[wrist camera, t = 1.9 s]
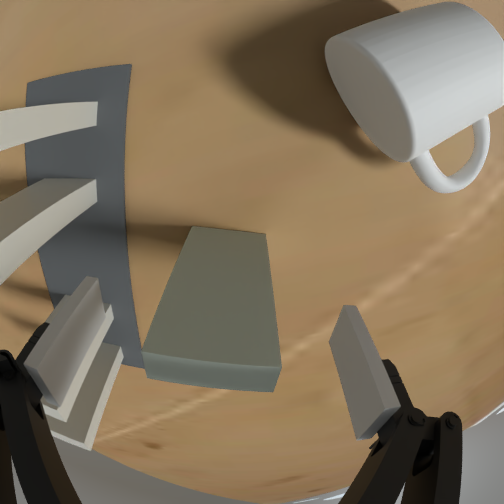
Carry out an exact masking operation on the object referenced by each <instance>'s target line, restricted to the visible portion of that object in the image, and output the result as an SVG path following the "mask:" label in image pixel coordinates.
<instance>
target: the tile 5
mask: <svg viewBox="0 0 504 504" xmlns="http://www.w3.org/2000/svg"><path fill="white" fill-rule="evenodd" d="M122 360H123V353H122V349H121V346H117V345H113V344H108V343H104V342H102V343H101V345H100V347H99V349H98V351H97V353H96V355H95V357H94V359H93V361H92V364H91V366H90V368H89V370H88V372H87V374H86V377H85V379H84V381H83V383H82V386H81V388H80V390H79V393H78V395H77V397H76V400H75V402H74V404H73V407H72V409H71V412H70V414H69V417H68V419H67V422H64V421H61V420H59V419H57V418H54V417H52V416H50V415H47V414H45V415H46V418H47V422H48V425H49V428H50V431H51V434H52V436H54V437H56V438H59V439H61V440H63V441H66V442H69V443H71V444H73V445H76V446H79V447H81V448H84V449H87V450H89V451H91V449H92V445H93V442H94V439H95V436H96V433H97V429H98V426H99V423H100V420H101V417H102V414H103V411H104V409H105V406H106V403H107V400H108V397H109V394H110V392H111V389H112V386H113V383H114V381H115V378H116V375H117V373H118V370H119V368H120V365H121V363H122Z"/></svg>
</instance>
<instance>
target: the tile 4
mask: <svg viewBox="0 0 504 504" xmlns="http://www.w3.org/2000/svg"><path fill="white" fill-rule="evenodd" d="M69 297H70V296H69V295H65V296H64V297H63V298H62V300H61V301H60V302H59V304H58V305H57V306H56V308H55V309H54V310H53V312H52V313H51V314H50V316H49V317H48V319H47V320H46V321H45V322H47V323H51V322H52V320H53V319H54V318H55V316H56V315H57V313H58V312H59V311H60V309H61V308H62V307H63V305H64V304H65V303H66V301H67V300H68V299H69ZM103 306H104V311H105V315H106V318H105V320H104V322H103V324H102V325H101V327H100V329H99V331H98V333H97V334H96V336H95V338H94V340H93V342H92V344H91V345H90V347H89V349H88V351H87V353H86V355H85V357H84V359H83V361H82V363H81V365H80V367H79V369H78V371H77V373H76V375H75V377H74V379H73V381H72V383H71V385H70V387H69V390H68V392H67V394H66V396H65V398H64V400H63V403H62V405H61V407H58V406H55V405H53V404H50V403H48V402H47V401H46V399H45V398H44V396H42V398H41V400H40V401H41V403H42V404H43V408H44V412H45V414H47V415H50V416H52V417H54V418H57V419H59V420H61V421H64V422H67V419H68V417H69V414H70V412H71V409H72V407H73V404H74V402H75V400H76V397H77V395H78V393H79V390H80V388H81V386H82V383H83V381H84V379H85V377H86V374H87V372H88V370H89V368H90V366H91V364H92V361H93V359H94V357H95V355H96V353H97V351H98V349H99V347H100V345H101V343H102V341H103V339H104V337H105V335H106V333H107V331H108V329H109V327H110V325H111V323H112V321H113V319H114V316H113V312H112V307H111V304H108V303H103Z"/></svg>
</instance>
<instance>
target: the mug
mask: <svg viewBox="0 0 504 504" xmlns="http://www.w3.org/2000/svg"><path fill="white" fill-rule="evenodd" d="M325 59H326V64H327V67H328V70H329V73H330V76H331V78H332V80H333V83H334V85H335V87H336V89H337V91H338V93H339V95H340V96H341V98H342V100H343V102H344V103H345V105H346V107H347V108H348V110H349V112H350V113H351V115H352V116H353V118H354V119H355V121H356V122H357V123H358V125H359V126H360V127H361V129H362V130H363V131H364V133H365V134H366V135H367V136H368V138H369V139H370V140H371V141H372V142H373V143H374V144H375V145H376V146H377V147H378V148H379V149H380V150H381V151H382V152H383V153H384V154H386V155H387V156H388V157H390V158H391V159H393V160H395V161H398V162H408V161H409V162H410V164H411V166H412V167H413V169H414V171H415V173H416V174H417V176H418V177H419V178H420V180H421V181H422V182H423V183H424V184H425V185H426V186H427V187H428V188H430V189H432V190H433V191H436V192H439V193H452V192H456V191H459V190H461V189H463V188H465V187H466V186H468V185H469V184H470V183H471V182H472V181H473V180H474V179H475V178H476V176H477V175H478V174H479V172H480V170H481V168H482V166H483V164H484V162H485V159H486V156H487V153H488V149H489V143H490V125H489V118H488V114H490V113H491V112H493V111H495V110H496V109H498V108H500V107H502V106H503V105H504V41H503V39H502V38H501V36H500V35H499V33H498V32H497V31H496V29H495V28H494V27H493V26H492V25H491V24H490V23H489V21H487V20H486V19H485V18H484V17H483V16H482V15H481V14H479V13H478V12H476V11H475V10H473V9H472V8H470V7H468V6H466V5H463V4H460V3H457V2H442V3H437V4H432V5H427V6H423V7H419V8H415V9H411V10H407V11H403V12H400V13H396V14H393V15H390V16H386V17H383V18H380V19H377V20H374V21H371V22H369V23H366V24H363V25H360V26H358V27H355V28H352V29H350V30H347V31H345V32H342V33H340V34H337V35H335V36H333V37H331V38H330V39H329V40H328V41H327V43H326V45H325ZM471 124H472V127H473V132H474V149H473V153H472V155H471V157H470V159H469V160H468V162H467V163H466V164H465V165H464V166H463V167H462V168H461V169H460V170H459V171H457V172H456V173H455V174H453V175H451V176H448V177H447V176H445V175H444V174H443V173H442V172H441V171H440V170H439V169H438V167H437V165H436V164H435V162H434V160H433V159H432V156H431V154H430V152H429V149H431V148H432V147H434V146H436V145H437V144H439V143H441V142H442V141H444V140H446V139H447V138H449V137H451V136H453V135H454V134H456V133H458V132H459V131H461V130H463V129H464V128H466V127H468V126H469V125H471Z"/></svg>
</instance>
